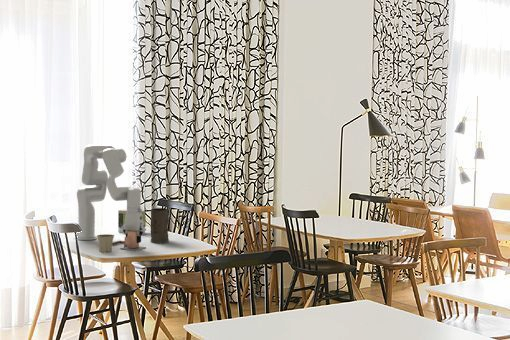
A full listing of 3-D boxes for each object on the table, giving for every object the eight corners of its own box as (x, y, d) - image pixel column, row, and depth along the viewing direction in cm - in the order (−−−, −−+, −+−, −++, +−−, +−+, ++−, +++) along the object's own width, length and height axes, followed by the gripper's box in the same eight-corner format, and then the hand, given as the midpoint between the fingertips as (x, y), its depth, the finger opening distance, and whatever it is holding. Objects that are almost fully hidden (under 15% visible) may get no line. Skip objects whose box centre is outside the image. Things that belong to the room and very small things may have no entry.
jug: (131, 245, 360) (132, 229, 359) (141, 246, 357) (141, 230, 357) (120, 248, 351) (121, 232, 350) (130, 249, 348) (130, 233, 347)
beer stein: (164, 244, 372) (165, 210, 371) (147, 243, 375) (147, 209, 373) (173, 240, 387) (173, 207, 386) (156, 239, 390) (157, 206, 389)
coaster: (120, 249, 353) (120, 248, 353) (131, 246, 362) (131, 245, 362) (135, 250, 349) (135, 249, 349) (146, 248, 358) (146, 247, 358)
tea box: (145, 232, 414) (145, 210, 413) (134, 234, 405) (134, 211, 404) (128, 230, 422) (128, 208, 421) (117, 232, 413) (117, 209, 412)
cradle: (109, 245, 364) (109, 242, 364) (120, 243, 373) (120, 240, 373) (125, 247, 360) (125, 244, 360) (135, 244, 369) (135, 242, 368)
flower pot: (98, 249, 351) (98, 234, 350) (115, 249, 352) (115, 234, 351) (95, 252, 342) (95, 236, 341) (113, 252, 342) (113, 236, 342)
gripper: (150, 210, 354) (150, 242, 355) (124, 208, 361) (124, 239, 362) (142, 212, 347) (142, 244, 348) (116, 210, 354) (116, 241, 355)
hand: (133, 241), depth 355 cm, fingers open, 6 cm apart
